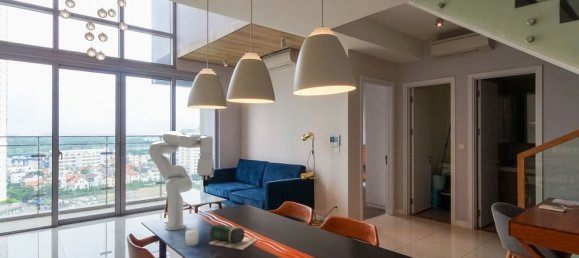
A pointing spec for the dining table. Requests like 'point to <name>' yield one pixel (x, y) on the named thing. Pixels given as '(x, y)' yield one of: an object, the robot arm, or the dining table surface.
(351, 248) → the dining table surface
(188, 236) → the white rounded block
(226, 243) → the beige striped cloth
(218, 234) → the coffee jar
